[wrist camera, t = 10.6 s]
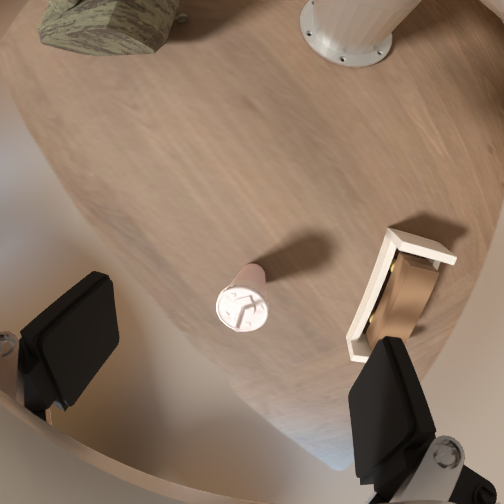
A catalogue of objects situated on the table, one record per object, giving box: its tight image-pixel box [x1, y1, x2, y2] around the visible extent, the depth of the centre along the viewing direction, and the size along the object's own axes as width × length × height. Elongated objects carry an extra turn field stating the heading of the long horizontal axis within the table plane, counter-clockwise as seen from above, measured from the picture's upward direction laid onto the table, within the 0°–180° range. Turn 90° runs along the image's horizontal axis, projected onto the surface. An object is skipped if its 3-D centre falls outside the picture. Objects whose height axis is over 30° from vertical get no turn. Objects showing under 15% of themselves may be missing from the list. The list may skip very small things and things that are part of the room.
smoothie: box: [216, 264, 269, 332], centre depth 35 cm, size 6×6×14 cm
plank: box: [366, 252, 440, 351], centre depth 36 cm, size 14×5×4 cm, turn 170°
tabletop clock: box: [38, 0, 188, 56], centre depth 18 cm, size 14×9×25 cm, turn 77°
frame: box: [346, 227, 457, 363], centre depth 37 cm, size 19×9×6 cm, turn 170°
